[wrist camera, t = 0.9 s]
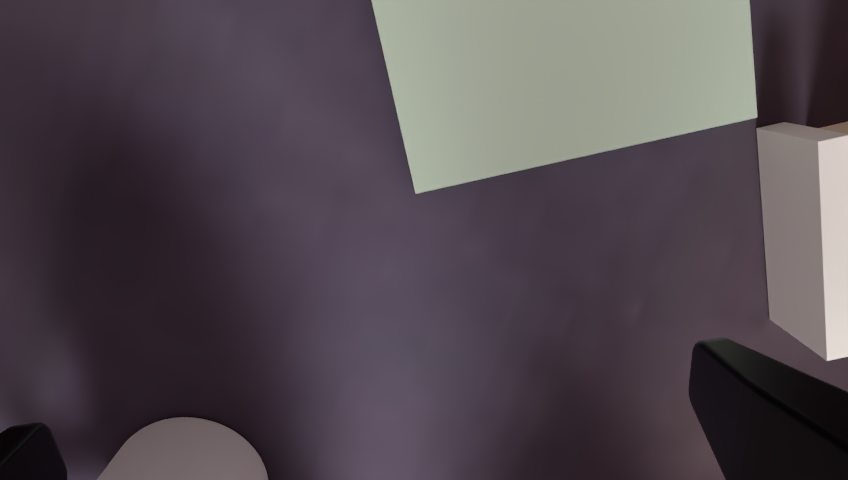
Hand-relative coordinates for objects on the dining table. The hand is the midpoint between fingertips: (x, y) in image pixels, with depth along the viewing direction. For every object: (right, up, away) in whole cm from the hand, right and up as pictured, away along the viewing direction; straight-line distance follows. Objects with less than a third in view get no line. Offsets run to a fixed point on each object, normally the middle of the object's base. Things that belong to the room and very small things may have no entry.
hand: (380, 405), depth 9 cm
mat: (+5, +11, +12) cm, 17 cm away
